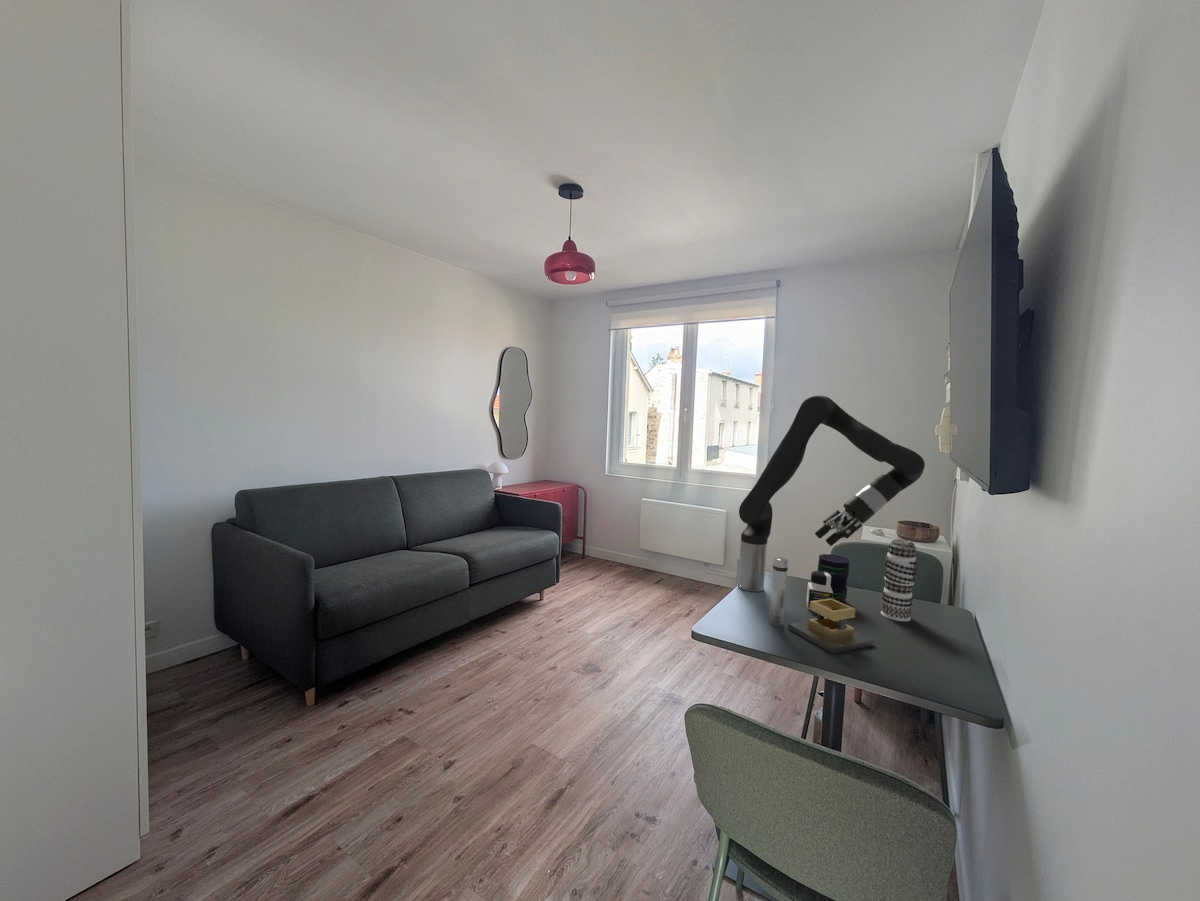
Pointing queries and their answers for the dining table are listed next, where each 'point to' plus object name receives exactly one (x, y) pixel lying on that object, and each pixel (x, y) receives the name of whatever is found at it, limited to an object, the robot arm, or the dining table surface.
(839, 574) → the storage jar
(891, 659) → the dining table surface
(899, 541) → the decorative candle
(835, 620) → the collar stand
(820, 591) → the medicine bottle
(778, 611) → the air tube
